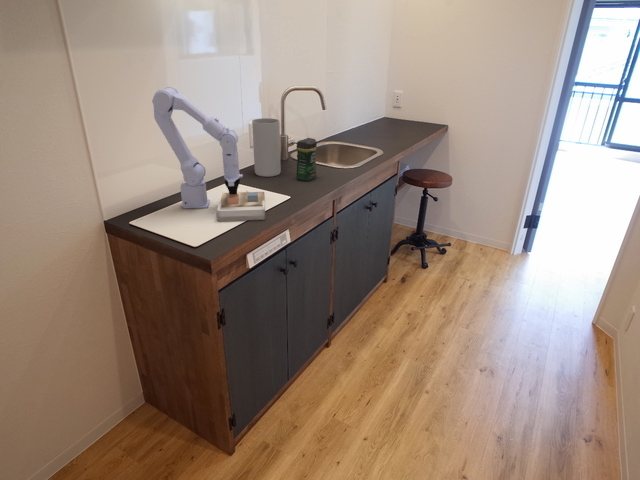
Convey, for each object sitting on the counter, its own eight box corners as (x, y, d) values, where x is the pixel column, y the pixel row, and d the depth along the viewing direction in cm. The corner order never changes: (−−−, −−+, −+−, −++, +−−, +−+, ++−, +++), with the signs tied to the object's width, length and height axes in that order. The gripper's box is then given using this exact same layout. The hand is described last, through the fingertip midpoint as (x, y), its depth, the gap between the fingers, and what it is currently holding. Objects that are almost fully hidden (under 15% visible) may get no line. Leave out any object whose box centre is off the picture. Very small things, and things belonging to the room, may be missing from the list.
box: (218, 221, 151) (216, 211, 149) (220, 211, 159) (219, 201, 157) (265, 219, 153) (264, 209, 151) (264, 210, 161) (264, 200, 159)
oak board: (220, 211, 159) (219, 205, 158) (222, 198, 171) (222, 192, 170) (264, 210, 161) (264, 204, 160) (264, 197, 173) (264, 191, 172)
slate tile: (247, 201, 162) (247, 195, 161) (247, 198, 165) (247, 192, 164) (258, 201, 162) (257, 195, 161) (258, 197, 166) (257, 191, 165)
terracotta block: (227, 204, 159) (227, 198, 158) (228, 200, 163) (227, 194, 161) (238, 203, 160) (238, 197, 158) (238, 200, 163) (238, 194, 162)
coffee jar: (308, 182, 192) (308, 142, 183) (293, 179, 195) (293, 139, 187) (318, 177, 199) (319, 138, 191) (305, 174, 203) (305, 135, 194)
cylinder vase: (278, 168, 210) (276, 117, 199) (282, 176, 199) (281, 123, 188) (253, 170, 207) (250, 118, 196) (256, 178, 196) (253, 123, 185)
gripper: (241, 169, 152) (243, 204, 158) (242, 158, 164) (244, 191, 171) (221, 169, 151) (224, 204, 157) (224, 158, 164) (226, 191, 170)
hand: (233, 197), depth 164 cm, fingers closed
